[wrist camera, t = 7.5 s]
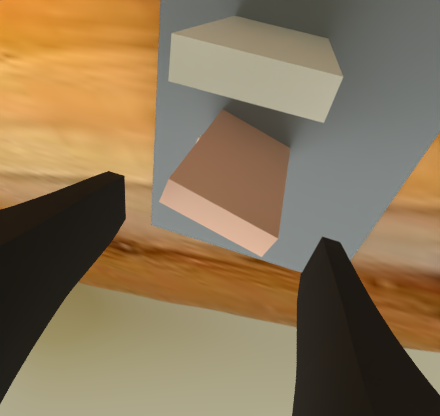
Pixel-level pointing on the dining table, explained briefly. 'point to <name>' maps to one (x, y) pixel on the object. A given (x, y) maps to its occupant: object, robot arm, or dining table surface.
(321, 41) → the tile
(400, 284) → the dining table surface
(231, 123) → the tile end
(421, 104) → the mat
